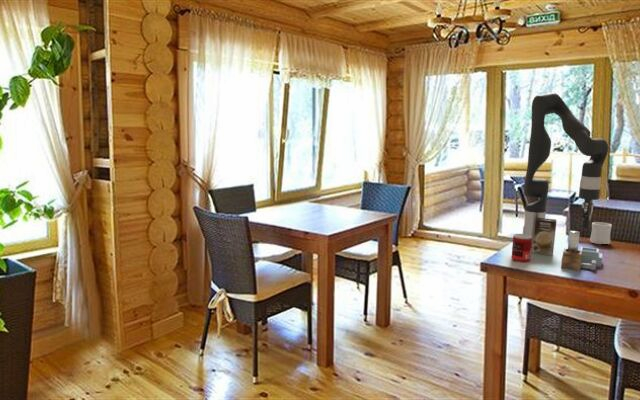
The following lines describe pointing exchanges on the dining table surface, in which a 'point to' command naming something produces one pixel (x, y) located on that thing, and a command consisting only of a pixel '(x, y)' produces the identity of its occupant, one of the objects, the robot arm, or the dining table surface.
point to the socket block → (571, 260)
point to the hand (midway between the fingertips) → (585, 228)
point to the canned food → (521, 247)
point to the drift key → (589, 265)
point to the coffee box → (544, 236)
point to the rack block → (591, 256)
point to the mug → (600, 233)
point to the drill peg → (573, 241)
